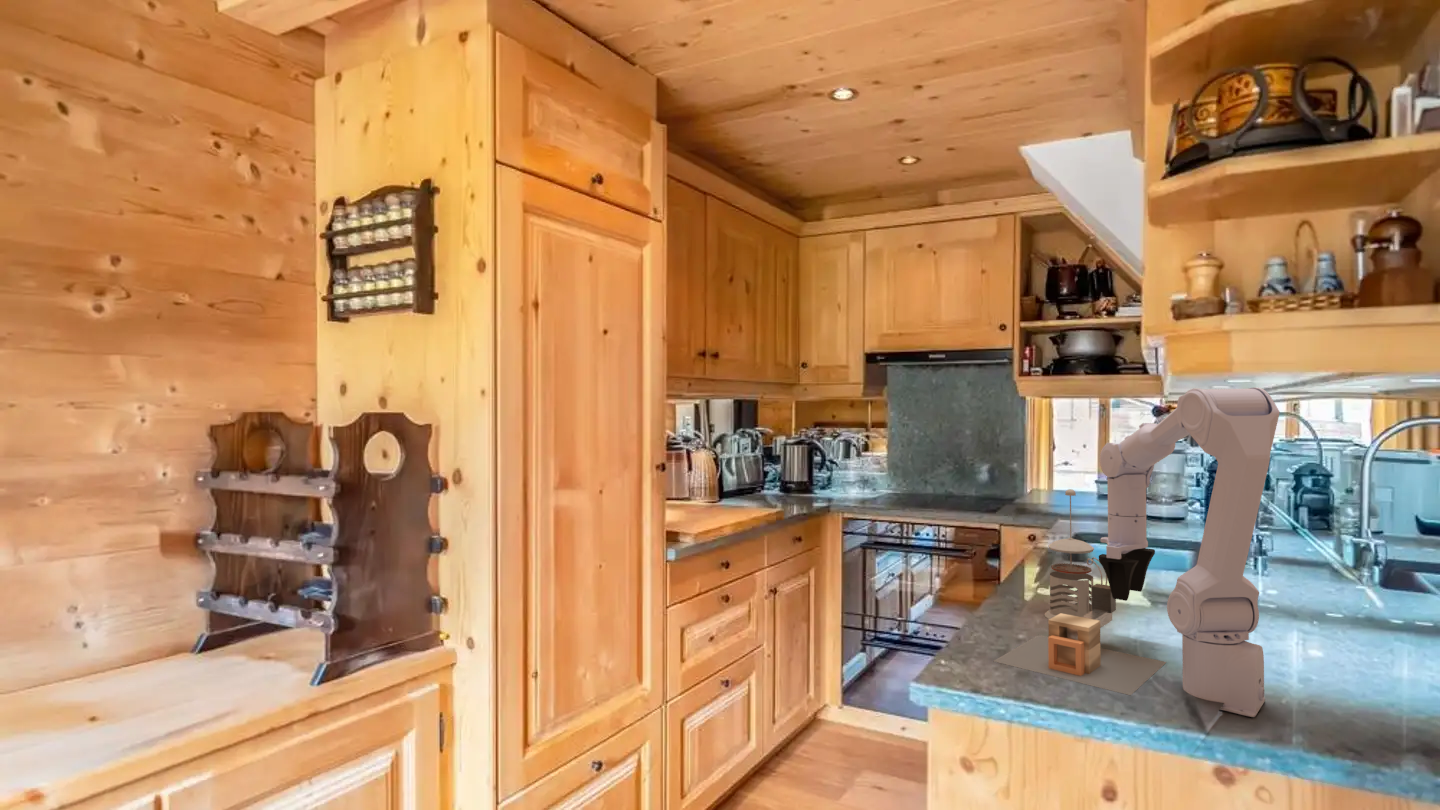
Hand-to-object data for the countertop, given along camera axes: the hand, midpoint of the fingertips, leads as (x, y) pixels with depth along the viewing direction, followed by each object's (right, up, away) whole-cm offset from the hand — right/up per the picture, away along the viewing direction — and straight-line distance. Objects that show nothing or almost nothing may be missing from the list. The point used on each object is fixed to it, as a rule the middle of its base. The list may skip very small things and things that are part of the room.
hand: (1127, 594), depth 126 cm
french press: (0, -10, +18) cm, 21 cm away
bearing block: (-13, -9, -9) cm, 18 cm away
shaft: (-8, -5, -4) cm, 10 cm away
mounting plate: (-12, -10, -8) cm, 17 cm away
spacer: (-16, -9, -12) cm, 21 cm away
